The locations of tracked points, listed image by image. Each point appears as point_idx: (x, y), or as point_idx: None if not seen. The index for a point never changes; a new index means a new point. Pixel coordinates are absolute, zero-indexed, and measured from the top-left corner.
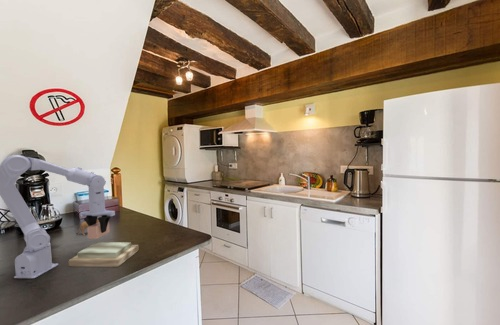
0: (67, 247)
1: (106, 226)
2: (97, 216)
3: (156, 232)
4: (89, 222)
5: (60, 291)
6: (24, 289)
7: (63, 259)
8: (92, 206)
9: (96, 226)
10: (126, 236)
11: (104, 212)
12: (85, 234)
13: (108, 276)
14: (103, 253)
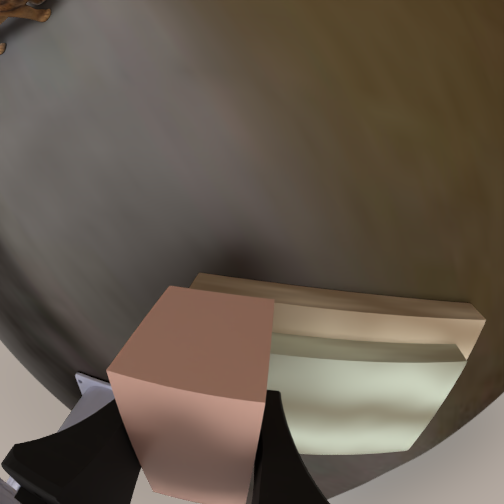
0: (20, 210)
1: (285, 432)
2: (72, 479)
3: (479, 15)
4: (125, 501)
5: None
6: None
7: (114, 349)
8: None
9: (228, 501)
10: (288, 22)
11: None
12: (4, 46)
13: (388, 457)
14: (351, 452)
